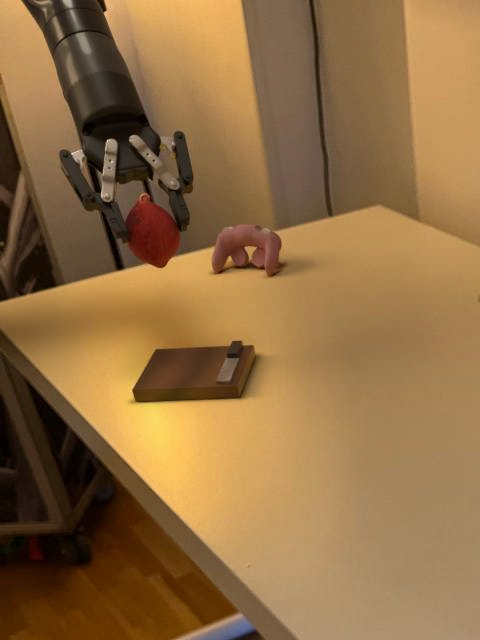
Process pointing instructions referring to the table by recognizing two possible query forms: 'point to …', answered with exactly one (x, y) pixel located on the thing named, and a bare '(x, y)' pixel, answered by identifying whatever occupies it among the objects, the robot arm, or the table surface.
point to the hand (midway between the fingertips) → (155, 233)
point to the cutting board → (195, 373)
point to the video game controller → (241, 237)
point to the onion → (152, 232)
